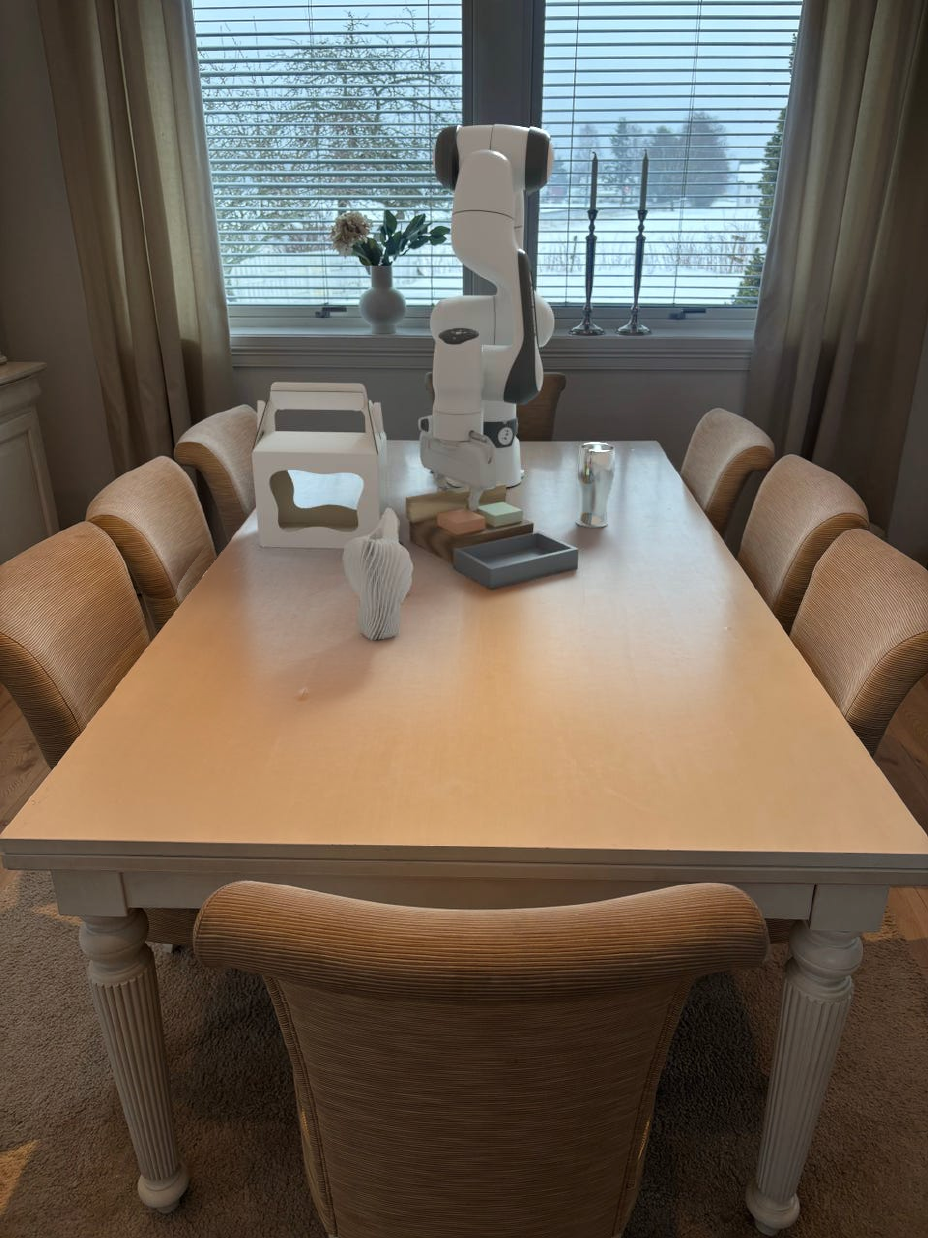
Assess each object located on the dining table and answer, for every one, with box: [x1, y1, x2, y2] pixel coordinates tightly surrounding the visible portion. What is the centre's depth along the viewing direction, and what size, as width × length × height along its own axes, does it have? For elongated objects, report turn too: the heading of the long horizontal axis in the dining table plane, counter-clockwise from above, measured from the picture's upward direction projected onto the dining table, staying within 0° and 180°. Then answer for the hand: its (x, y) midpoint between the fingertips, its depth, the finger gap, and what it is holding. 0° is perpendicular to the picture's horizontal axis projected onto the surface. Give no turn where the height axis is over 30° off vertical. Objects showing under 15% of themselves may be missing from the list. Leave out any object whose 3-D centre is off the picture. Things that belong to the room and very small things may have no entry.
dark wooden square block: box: [408, 511, 535, 565], centre depth 167 cm, size 16×16×5 cm
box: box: [452, 530, 580, 591], centre depth 157 cm, size 11×18×4 cm, turn 123°
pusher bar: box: [405, 481, 507, 523], centre depth 169 cm, size 2×20×4 cm, turn 123°
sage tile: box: [475, 502, 524, 527], centre depth 165 cm, size 6×6×2 cm
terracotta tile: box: [437, 509, 485, 535], centre depth 161 cm, size 6×6×2 cm
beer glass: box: [575, 442, 616, 529], centre depth 177 cm, size 7×7×15 cm
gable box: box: [251, 381, 389, 550], centre depth 166 cm, size 22×13×28 cm, turn 88°
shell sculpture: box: [342, 507, 414, 641], centre depth 129 cm, size 8×8×18 cm
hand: (457, 502), depth 168 cm, fingers open, 8 cm apart
